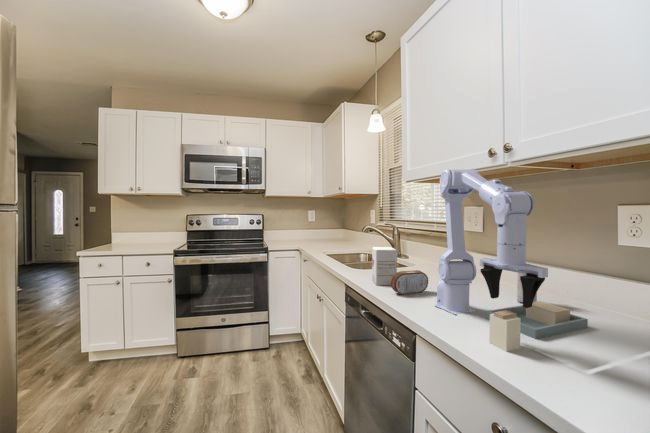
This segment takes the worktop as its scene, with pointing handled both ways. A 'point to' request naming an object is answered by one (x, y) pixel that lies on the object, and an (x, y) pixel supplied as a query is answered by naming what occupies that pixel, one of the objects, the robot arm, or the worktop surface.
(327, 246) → the worktop surface
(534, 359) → the worktop surface
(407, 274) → the tin
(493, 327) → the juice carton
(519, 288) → the energy drink
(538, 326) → the tray
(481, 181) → the robot arm
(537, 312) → the tan stepped block
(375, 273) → the supplement box
